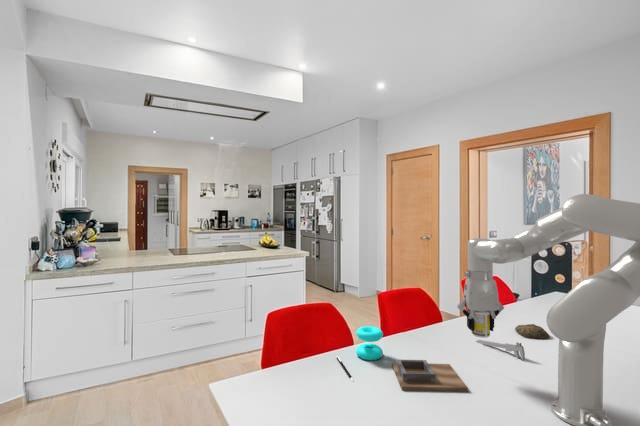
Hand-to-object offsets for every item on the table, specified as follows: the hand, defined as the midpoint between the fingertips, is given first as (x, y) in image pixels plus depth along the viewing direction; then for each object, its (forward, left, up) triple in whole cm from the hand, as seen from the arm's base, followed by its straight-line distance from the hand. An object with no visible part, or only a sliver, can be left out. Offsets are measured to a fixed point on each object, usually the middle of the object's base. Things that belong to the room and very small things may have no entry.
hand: (480, 329), depth 112 cm
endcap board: (-2, +18, -16) cm, 24 cm away
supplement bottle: (0, 0, -2) cm, 2 cm away
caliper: (+21, -17, -16) cm, 32 cm away
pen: (+4, +45, -16) cm, 48 cm away
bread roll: (+40, -41, -16) cm, 59 cm away
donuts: (+14, +35, -16) cm, 41 cm away
